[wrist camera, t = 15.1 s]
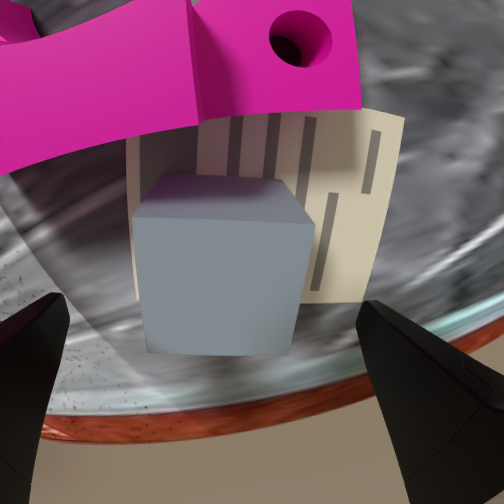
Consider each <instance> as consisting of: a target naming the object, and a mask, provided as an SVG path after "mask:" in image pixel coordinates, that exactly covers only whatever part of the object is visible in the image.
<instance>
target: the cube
mask: <svg viewBox="0 0 504 504" xmlns="http://www.w3.org/2000/svg"><path fill="white" fill-rule="evenodd" d="M132 226H133V240H134V253H135V264H136V274H137V283H138V292H139V300H140V308H141V315H142V322H143V329H144V335H145V341H146V347H147V353H162V354H181V355H211V356H268V355H288V354H289V349H290V345H291V341H292V337H293V332H294V328H295V324H296V319H297V315H298V310H299V306H300V301H301V297H302V292H303V287H304V282H305V278H306V273H307V268H308V263H309V258H310V253H311V247H312V242H313V237H314V231H315V226H316V225H315V223H314V222H313V220H312V219H311V218H310V216H309V215H308V214H307V212H306V211H305V210H304V208H303V207H302V206H301V204H300V203H299V202H298V200H297V199H296V198H295V196H294V195H293V194H292V192H291V191H290V190H289V188H288V187H287V186H286V184H285V183H284V182H283V181H282V179H269V178H255V177H238V176H219V175H195V174H161V176H160V177H159V179H158V180H157V181H156V183H155V184H154V186H153V187H152V188H151V190H150V191H149V193H148V194H147V196H146V197H145V199H144V200H143V201H142V203H141V204H140V206H139V207H138V209H137V210H136V212H135V213H134V215H133V216H132Z"/></svg>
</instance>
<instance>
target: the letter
mask: <svg viewBox="0 0 504 504" xmlns="http://www.w3.org/2000/svg"><path fill="white" fill-rule="evenodd" d="M403 125H404V118H403V117H399V116H396V115H392V114H388V113H384V112H380V111H375V110H371V109H367V108H362V110H315V111H292V112H276V113H262V114H251V115H241V116H232V117H224V118H216V119H208V120H204V121H203V122H202V123H200V124H199V125H194V126H188V127H181V128H175V129H170V130H164V131H159V132H154V133H148V134H144V135H139V136H134V137H129V138H126V178H127V202H128V219H129V232H130V244H131V255H132V264H133V273H134V282H135V289H136V297H137V300H139V292H138V283H137V274H136V264H135V253H134V240H133V226H132V216H133V215H134V213H135V212H136V210H137V209H138V207H139V206H140V204H141V203H142V201H143V200H144V199H145V197H146V196H147V194H148V193H149V191H150V190H151V188H152V187H153V186H154V184H155V183H156V181H157V180H158V179H159V177H160V176H161V174H195V175H219V176H238V177H255V178H269V179H282V181H283V182H284V183H285V184H286V186H287V187H288V188H289V190H290V191H291V192H292V194H293V195H294V196H295V198H296V199H297V200H298V202H299V203H300V204H301V206H302V207H303V208H304V210H305V211H306V212H307V214H308V215H309V216H310V218H311V219H312V220H313V222H314V223H315V225H316V226H315V231H314V237H313V242H312V247H311V253H310V258H309V263H308V268H307V273H306V278H305V282H304V287H303V292H302V297H301V301H300V303H349V302H362V300H363V296H364V293H365V290H366V287H367V284H368V280H369V277H370V274H371V270H372V267H373V263H374V260H375V256H376V253H377V249H378V245H379V241H380V238H381V234H382V230H383V226H384V222H385V218H386V213H387V209H388V205H389V200H390V196H391V191H392V187H393V182H394V177H395V172H396V167H397V161H398V156H399V150H400V144H401V138H402V132H403Z"/></svg>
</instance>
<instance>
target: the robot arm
mask: <svg viewBox="0 0 504 504" xmlns="http://www.w3.org/2000/svg"><path fill="white" fill-rule="evenodd" d="M69 323H70V315H69V311H68V308H67V304H66V301H65V297H64V295H63V294H62V293H55V292H50V293H48V294H47V295H45V296H43V297H42V298H40V299H38V300H37V301H35V302H33V303H32V304H30V305H28V306H27V307H25V308H23V309H22V310H20V311H18V312H17V313H15V314H14V315H12V316H10V317H9V318H7V319H6V320H4V321H2V322H1V323H0V504H29V497H30V490H31V482H32V476H33V470H34V465H35V459H36V454H37V449H38V444H39V439H40V435H41V431H42V427H43V423H44V419H45V415H46V411H47V407H48V403H49V400H50V396H51V393H52V389H53V386H54V382H55V379H56V376H57V373H58V369H59V366H60V362H61V358H62V353H63V349H64V344H65V340H66V336H67V332H68V328H69ZM356 330H357V334H358V338H359V342H360V346H361V350H362V354H363V358H364V362H365V365H366V369H367V372H368V375H369V377H370V380H371V383H372V386H373V388H374V391H375V394H376V397H377V400H378V402H379V405H380V408H381V411H382V414H383V417H384V420H385V423H386V426H387V429H388V432H389V435H390V438H391V441H392V444H393V447H394V451H395V454H396V457H397V460H398V463H399V467H400V470H401V474H402V477H403V480H404V482H405V483H404V484H405V488H406V491H407V494H408V498H409V502H410V504H504V375H502V374H500V373H498V372H496V371H495V370H493V369H491V368H489V367H487V366H485V365H483V364H482V363H480V362H479V361H477V360H475V359H473V358H472V357H470V356H469V355H467V354H465V353H464V352H461V351H460V350H459V349H457V348H456V347H454V346H452V345H451V344H449V343H447V342H446V341H444V340H442V339H441V338H439V337H438V336H436V335H434V334H433V333H431V332H429V331H428V330H426V329H424V328H423V327H421V326H419V325H418V324H416V323H414V322H413V321H411V320H409V319H408V318H406V317H404V316H403V315H401V314H399V313H398V312H396V311H394V310H393V309H391V308H389V307H388V306H386V305H384V304H383V303H381V302H379V301H378V300H365V301H364V302H363V303H362V305H361V308H360V311H359V314H358V317H357V320H356Z"/></svg>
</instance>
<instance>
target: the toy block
mask: <svg viewBox="0 0 504 504" xmlns="http://www.w3.org/2000/svg"><path fill="white" fill-rule="evenodd" d="M270 36H283V37H286V38H288V39H290V40H291V41H293V42H294V43H295V44H296V45H297V47H298V48H299V51H300V54H301V62H300V65H299V67H296V66H292V65H290V64H288V63H286V62H284V61H283V60H281V59H280V58H279V57H278V56H277V55H276V54H275V52H274V51H273V49H272V47H271V45H270V41H269V37H270ZM315 110H362V103H361V87H360V74H359V62H358V52H357V43H356V35H355V27H354V19H353V12H352V6H351V0H202V1H200V2H199V3H197V4H195V5H194V6H192V3H191V0H134V1H132V2H130V3H128V4H125V5H123V6H121V7H119V8H117V9H115V10H113V11H111V12H109V13H106V14H104V15H102V16H99V17H97V18H95V19H92V20H90V21H88V22H86V23H83V24H80V25H78V26H75V27H72V28H70V29H67V30H65V31H62V32H59V33H56V34H52V35H49V36H46V37H43V38H41V37H40V35H39V34H38V32H37V30H36V28H35V26H34V23H33V20H32V15H31V9H30V8H28V7H25V6H22V5H20V4H17V3H14V2H11V1H9V0H0V176H2V175H4V174H7V173H10V172H12V171H15V170H18V169H21V168H23V167H26V166H29V165H32V164H35V163H38V162H41V161H44V160H47V159H50V158H54V157H57V156H60V155H63V154H67V153H70V152H74V151H77V150H81V149H85V148H88V147H92V146H96V145H100V144H104V143H108V142H112V141H116V140H120V139H125V138H129V137H134V136H139V135H144V134H148V133H154V132H159V131H164V130H170V129H175V128H181V127H188V126H194V125H199V124H200V123H202V122H203V121H204V120H208V119H216V118H224V117H232V116H241V115H251V114H262V113H276V112H292V111H315Z"/></svg>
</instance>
